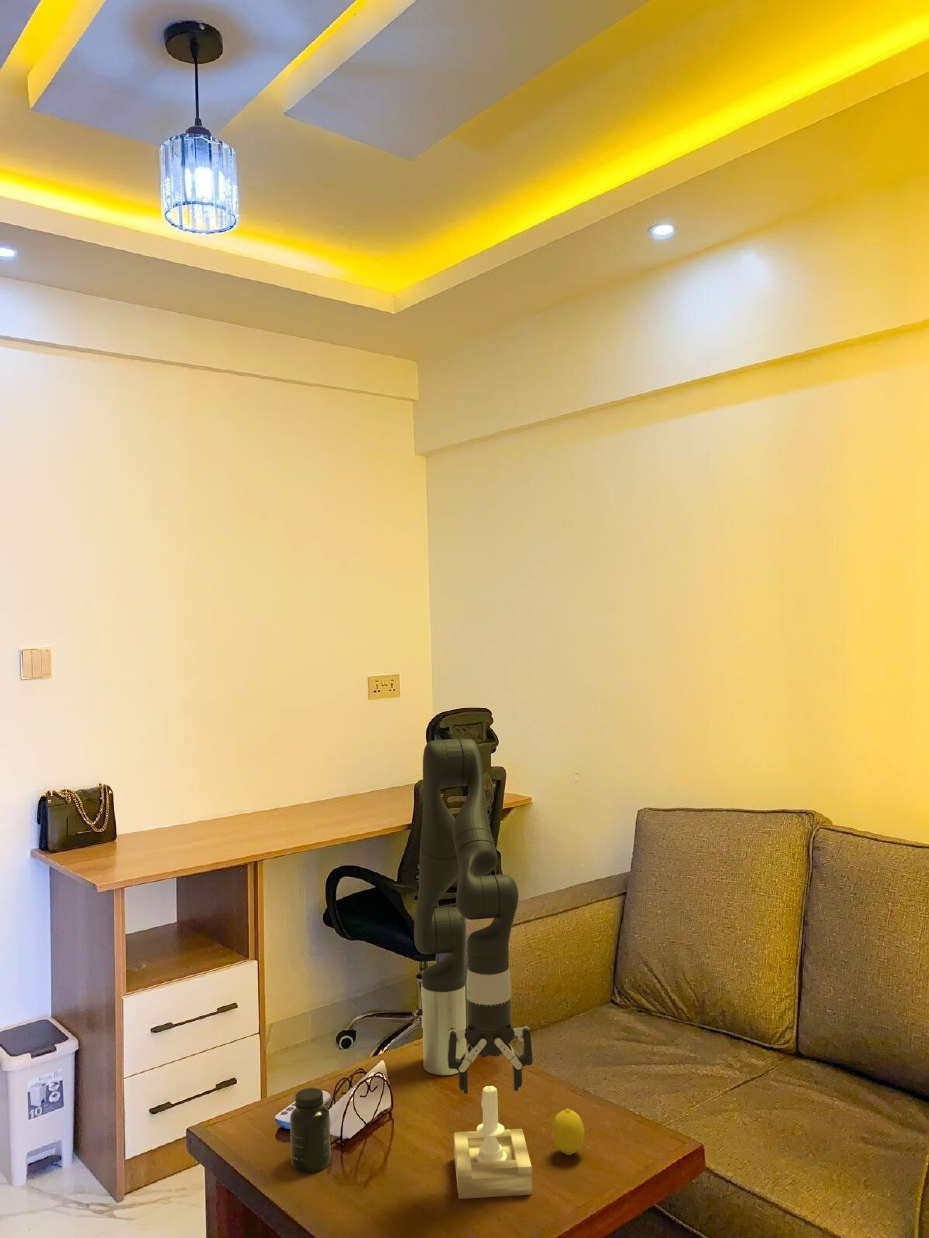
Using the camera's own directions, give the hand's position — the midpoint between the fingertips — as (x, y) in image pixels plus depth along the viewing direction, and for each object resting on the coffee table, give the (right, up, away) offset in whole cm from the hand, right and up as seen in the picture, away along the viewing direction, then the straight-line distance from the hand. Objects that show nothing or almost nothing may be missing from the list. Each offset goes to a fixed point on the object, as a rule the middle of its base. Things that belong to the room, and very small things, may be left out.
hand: (490, 1090), depth 160 cm
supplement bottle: (-31, -15, +4) cm, 35 cm away
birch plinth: (0, -14, 0) cm, 14 cm away
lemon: (+14, -14, +6) cm, 21 cm away
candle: (0, -11, 0) cm, 11 cm away
